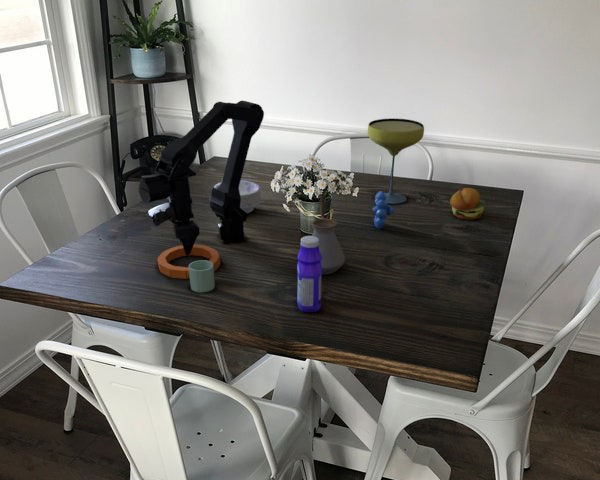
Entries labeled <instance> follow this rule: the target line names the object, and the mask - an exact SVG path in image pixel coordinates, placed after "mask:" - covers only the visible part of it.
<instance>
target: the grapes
mask: <svg viewBox="0 0 600 480" xmlns="http://www.w3.org/2000/svg"><path fill="white" fill-rule="evenodd" d="M385 193H386V192H383V190H381V191H378V192H377V193H376V195H375V196H374V198H375V197H376V198H377V199H376V200H375V199H374V204H375V206H374V207H372V209H371V211H372V212H373V213H374V214H375V217H374V218H373V221H374V223H373V225H374V226H375V228H376V229H378V230H381V229H382V228H383V227H384V226H385V225H386V223H387V221H386V218H387V217H388V216H391V215H392V214H393V213H394V212H395V209H394V207H393V206H391V204H387V202H386V201H385V199H386V198H387V196H386V195H385Z"/></svg>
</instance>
